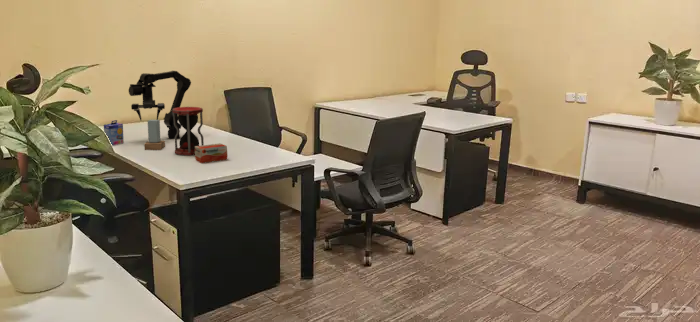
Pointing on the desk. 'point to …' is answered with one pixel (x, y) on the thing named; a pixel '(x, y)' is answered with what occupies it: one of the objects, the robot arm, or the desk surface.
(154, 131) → the slate post
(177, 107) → the robot arm
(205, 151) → the medicine box
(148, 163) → the desk surface
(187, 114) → the hourglass
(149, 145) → the walnut block
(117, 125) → the ink cartridge box
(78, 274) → the desk surface
